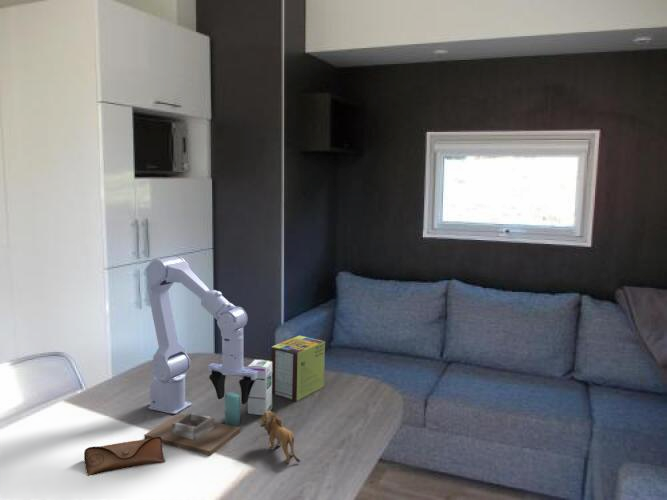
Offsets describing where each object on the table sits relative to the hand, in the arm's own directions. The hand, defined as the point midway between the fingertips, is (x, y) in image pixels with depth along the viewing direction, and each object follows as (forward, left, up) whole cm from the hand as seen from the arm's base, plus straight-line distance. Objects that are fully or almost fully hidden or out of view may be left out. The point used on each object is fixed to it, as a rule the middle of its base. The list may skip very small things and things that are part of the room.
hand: (232, 400), depth 155 cm
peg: (0, 0, -7) cm, 7 cm away
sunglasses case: (-12, -28, -7) cm, 32 cm away
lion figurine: (+19, -9, -7) cm, 22 cm away
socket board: (-5, -11, -6) cm, 14 cm away
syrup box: (+3, +10, -7) cm, 12 cm away
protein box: (+6, +29, -7) cm, 30 cm away
